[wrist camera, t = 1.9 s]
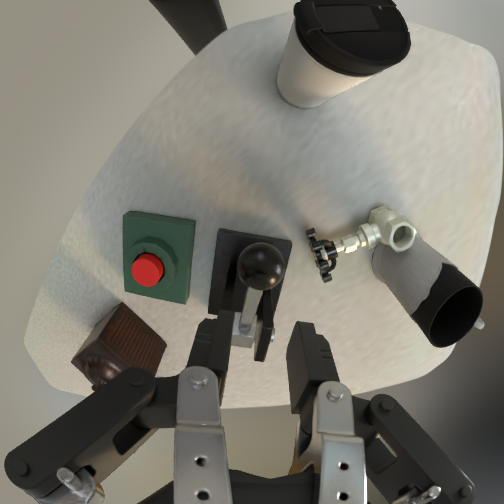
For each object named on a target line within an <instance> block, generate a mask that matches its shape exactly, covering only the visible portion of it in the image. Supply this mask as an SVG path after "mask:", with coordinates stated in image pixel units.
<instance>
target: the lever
mask: <svg viewBox="0 0 504 504" xmlns="http://www.w3.org/2000/svg"><path fill="white" fill-rule="evenodd" d="M237 271H238V275H239V277H240V279H241V281H242V282H243V283H244V284H245V285H246V286H247V290H246V294H245V298H244V303H243V307H242V311H241V313H240V312H235V317H234V325H233V332H232V340H231V346H238V347H244V348H251V347H252V345H253V342H254V340H255V336H256V326H257V315H255V313H256V310H257V307H258V304H259V301H260V298H261V295H262V292H263V290H268V289H271V288H273V287H274V286H276V285H277V284H278V283H279V282H280V281H281V279H282V277H283V275H284V272H285V262H284V258H283V256H282V254H281V253H280V251H279V250H278V249H277V248H276V247H274V246H272V245H270V244H268V243H255V244H252V245H250V246H248V247H247V248H245V249H244V250H243V251H242V253H241V254H240V256H239V258H238V262H237Z"/></svg>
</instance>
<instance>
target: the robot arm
mask: <svg viewBox="0 0 504 504" xmlns="http://www.w3.org/2000/svg"><path fill="white" fill-rule="evenodd" d="M234 317H235V312H232V311H226V310H220V309H219V312H218V317H217V320H213V319H207V318H205V319H204V320H203V321H202V322H201V323H200V324H199V325H198V329H197V332H196V335H195V339H194V342H193V346H192V349H191V352H190V356H189V359H188V363H187V366H186V368H185V369H184V370H183V371H182V372H181V373H180V374H178V375H176V376H172V377H155V376H154V375H153V374H152V373H151V372H150V371H149V370H147V369H145V368H142V367H130V368H127V369H125V370H123V371H122V372H121V373H119V374H118V375H117V376H115V377H114V378H113V379H111V380H110V381H108V382H107V383H106V384H104V385H103V386H102V387H100V388H99V389H98V390H96V391H95V392H94V393H92V394H91V395H89V396H88V397H87V398H85V399H84V400H83V401H81V402H80V403H78V404H77V405H76V406H74V407H73V408H72V409H70V410H69V411H67V412H66V413H65V414H63V415H62V416H61V417H59V418H58V419H56V420H55V421H54V422H52V423H51V424H49V425H48V426H46V427H45V428H44V429H42V430H41V431H39V432H38V433H37V434H35V435H34V436H33V437H31V438H30V439H28V440H27V441H25V442H24V443H22V444H21V445H20V446H18V447H16V448H15V449H14V450H12V451H11V452H9V453H8V455H7V456H6V459H5V463H4V467H5V471H6V474H7V476H8V478H9V479H10V480H11V481H12V482H13V483H14V484H15V485H16V486H18V487H19V488H21V489H22V490H24V491H25V492H26V493H27V494H28V495H30V496H32V497H33V498H34V499H35V500H36V501H37V502H38V503H39V504H102V503H103V501H104V497H105V495H104V490H103V488H102V486H101V485H100V483H101V482H102V481H103V480H104V479H106V478H107V477H108V476H109V475H110V474H111V473H112V472H113V471H115V470H116V469H117V468H118V467H119V466H120V465H121V464H122V463H123V462H124V461H125V460H127V459H128V458H129V457H130V456H131V455H132V454H133V453H134V452H135V451H136V450H137V449H138V448H139V447H140V446H142V445H143V444H144V443H145V442H146V441H147V440H148V439H149V438H150V437H151V436H152V435H153V434H154V433H155V432H156V431H157V430H158V429H159V428H175V434H174V480H173V481H171V482H170V483H168V484H167V485H165V486H164V487H162V488H161V489H159V490H158V491H156V492H155V493H153V494H152V495H150V496H149V497H147V498H146V499H144V500H142V501H141V502H139V503H137V504H370V503H369V502H368V501H367V499H366V498H367V496H366V495H367V494H366V475H367V476H368V478H369V479H370V480H371V482H372V483H373V484H374V485H375V487H376V488H377V489H378V490H379V492H380V493H381V494H382V495H383V496H384V497H385V499H386V500H387V501H388V503H389V504H471V503H472V502H473V500H474V498H475V495H476V489H475V486H474V484H473V482H472V481H471V480H470V479H469V478H468V477H467V476H466V475H465V474H464V473H463V472H462V471H461V469H460V468H459V467H458V466H457V465H456V464H455V463H454V462H453V461H452V460H451V459H450V458H449V457H448V455H447V454H446V453H445V452H444V451H443V450H442V449H441V448H440V447H439V446H438V445H437V444H436V443H435V442H434V440H433V439H432V438H431V437H430V436H429V435H428V434H427V433H426V432H425V431H424V430H423V429H422V428H421V427H420V425H419V424H418V423H417V422H416V421H415V420H414V419H413V418H412V417H411V416H410V415H409V414H408V413H407V412H406V411H405V410H404V408H403V407H402V406H401V405H400V404H399V403H398V402H397V401H396V400H395V399H394V398H392V397H391V396H389V395H386V394H378V395H376V396H374V397H373V398H372V399H371V401H369V400H365V399H361V398H357V397H354V396H352V395H351V392H350V390H349V389H348V388H347V387H346V386H345V385H344V384H342V383H340V380H339V377H338V373H337V370H336V366H335V363H334V359H333V356H332V352H331V349H330V345H329V342H328V341H327V340H326V339H325V338H324V336H323V335H319V334H316V331H315V327H314V324H313V323H308V322H300V321H297V322H296V324H295V326H294V329H293V332H292V335H291V338H290V341H289V344H288V347H287V353H286V361H287V371H288V381H289V391H290V401H291V412H292V414H300V421H299V423H298V425H297V430H296V439H295V448H294V456H293V463H292V466H291V468H290V470H289V474H288V475H287V476H283V477H278V478H272V479H268V478H264V477H260V476H256V475H252V474H249V473H245V472H242V471H239V470H231V469H229V468H228V460H227V450H226V441H225V432H224V428H223V426H222V425H221V414H220V406H221V404H222V398H223V393H224V387H225V382H226V377H227V371H228V364H229V356H230V348H231V340H232V332H233V325H234ZM379 436H381V437H382V438H383V439H384V440H385V441H386V443H387V444H388V445H389V446H390V447H391V448H392V450H393V451H394V452H395V453H396V455H397V458H396V457H394V456H393V455H392V453H391V452H390V451H389V450H388V449H387V448H386V446H385V445H384V444H383V443H382V442H381V440H380V439H379V438H378V437H379Z"/></svg>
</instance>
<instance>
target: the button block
mask: <svg viewBox="0 0 504 504" xmlns="http://www.w3.org/2000/svg"><path fill="white" fill-rule="evenodd" d="M195 223H196V221H194V220H187V219H181V218H175V217H168V216H162V215H155V214H149V213H142V212H135V211H129V212H128V213H126V214H124V215H123V268H124V287H125V291H126V292H130V293H134V294H138V295H143V296H147V297H152V298H156V299H161V300H166V301H170V302H175V303H180V304H186V302H187V299H188V297H189V288H190V275H191V263H192V252H193V242H194V232H195ZM145 253H150V254H154V255H155V256H157V257H158V258H159V259H160V260H161V262H162V264H163V267H164V271H163V274H162V276H161V278H160V279H159V281H158V282H157V283H156V284H155V285H153V286H150V287H147V286H143V285H141V284H139V283H138V282H137V281H136V280H135V279H134V277H133V275H132V265H133V263H134V262H135V261H136V260H137V259H138V258H139V257H140V256H141V255H142V254H145Z"/></svg>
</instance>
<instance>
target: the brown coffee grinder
mask: <svg viewBox="0 0 504 504" xmlns="http://www.w3.org/2000/svg"><path fill="white" fill-rule="evenodd" d="M166 347H167V344H166V343H165V342H164V341H163V340H162V338H161V337H160V336H159V335H158V334H156V333H155V332H154V331H153V330H152V329H151V328H150V327H149V326H148V325H147V324H146V323H145V322H144V321H143V320H142V319H140V318H139V317H138V316H137V315H136V314H135V313H134V312H133V311H131V310H130V309H129V308H128V307H127V306H126V305H125V304H124V303H123V302H122V303H120V304H119V305H117V306H116V307H114V308H113V309H112V310H111V311H110V312H109V313H108V314H107V315H106V316H105V317H104V318H102V319H101V320H100V321H99V322H98V323H97V324H96V325H95V328H94V330H93V331H92V332H91V334H90V335H89V336H88V338H87V339H86V340H85V342H84V343H83V345H82V346H81V347H80V349H79V350H78V352H77V353H76V355H75V356H74V357H73V359H72V361H71V363H72V364H73V365H74V366H75V367H76V368H78V369H79V370H80V371H81V372H82V373H83V374H84V375H85V377H86V378H87V379H88V380H89V381H90V382H91V383H92V384H93V386H92V390H93V391H96V390H98V389H99V388H100V387H102V386H103V385H104V384H106V383H107V382H108V381H110V380H111V379H113V378H114V377H115V376H117V375H118V374H119V373H121V372H122V371H123V370H125V369H127V368H130V367H142V368H145V369H147V370H149V371H150V372H151V373H152V374H153V375H154V376H155V375H156V372H157V369H158V366H159V364H160V361H161V358H162V356H163V353H164V351H165V348H166ZM135 452H136V451H135ZM135 452H134V453H135ZM134 453H133V454H134Z"/></svg>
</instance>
